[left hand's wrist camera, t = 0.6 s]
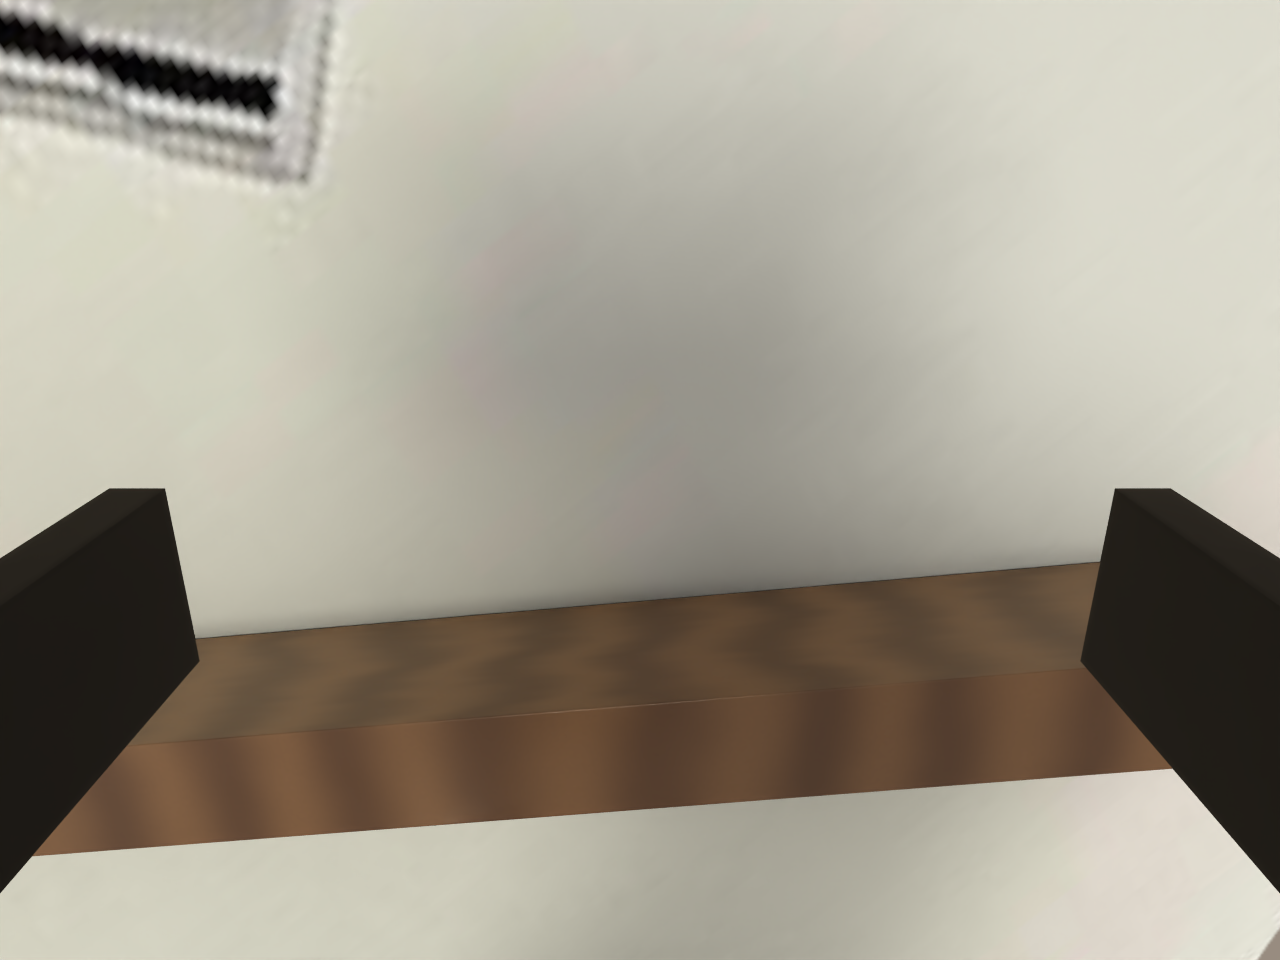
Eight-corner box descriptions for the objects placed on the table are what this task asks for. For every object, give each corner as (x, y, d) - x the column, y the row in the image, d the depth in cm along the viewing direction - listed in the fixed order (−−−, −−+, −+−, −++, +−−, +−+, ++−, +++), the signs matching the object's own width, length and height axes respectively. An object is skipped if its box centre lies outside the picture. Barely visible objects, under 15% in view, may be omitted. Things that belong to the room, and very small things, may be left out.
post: (1215, 551, 41) (1349, 647, 33) (1201, 646, 42) (1326, 757, 35) (-339, 684, 43) (-552, 800, 35) (-292, 767, 45) (-485, 896, 37)
